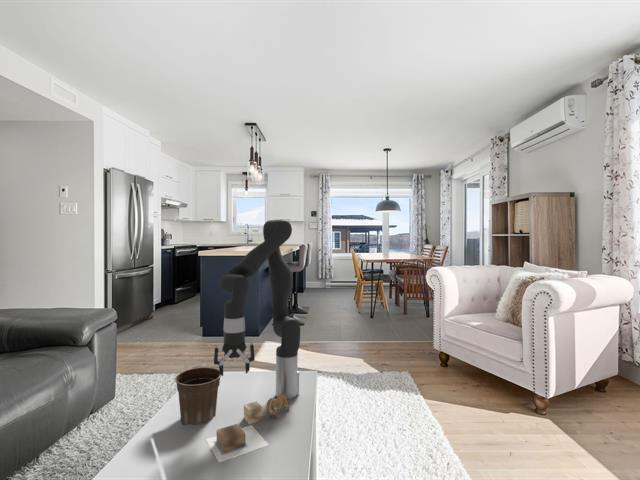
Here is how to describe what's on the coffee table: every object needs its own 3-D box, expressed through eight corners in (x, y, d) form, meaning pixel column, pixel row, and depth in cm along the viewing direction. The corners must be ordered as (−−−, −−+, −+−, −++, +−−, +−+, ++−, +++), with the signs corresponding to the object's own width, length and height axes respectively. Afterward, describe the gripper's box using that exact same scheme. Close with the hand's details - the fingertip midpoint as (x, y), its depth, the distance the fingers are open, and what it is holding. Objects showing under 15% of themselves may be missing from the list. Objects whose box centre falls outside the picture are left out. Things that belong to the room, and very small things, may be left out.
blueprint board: (251, 427, 121) (251, 424, 121) (268, 448, 110) (268, 444, 110) (205, 442, 112) (205, 439, 112) (219, 465, 101) (219, 462, 101)
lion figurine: (276, 427, 122) (276, 402, 122) (262, 425, 124) (262, 400, 124) (291, 408, 136) (291, 385, 136) (279, 406, 138) (279, 383, 138)
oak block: (256, 417, 129) (256, 401, 129) (262, 423, 125) (262, 406, 125) (243, 421, 126) (243, 404, 126) (249, 427, 122) (249, 410, 122)
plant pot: (206, 433, 118) (207, 386, 118) (164, 427, 121) (165, 382, 121) (228, 410, 134) (229, 369, 134) (191, 406, 137) (191, 365, 137)
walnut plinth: (237, 435, 115) (237, 423, 115) (245, 446, 109) (245, 433, 109) (216, 442, 111) (216, 429, 111) (223, 453, 105) (223, 440, 105)
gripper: (253, 325, 130) (253, 368, 131) (214, 328, 127) (214, 371, 127) (255, 330, 123) (255, 375, 123) (213, 333, 119) (213, 380, 120)
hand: (234, 373), depth 125 cm, fingers open, 8 cm apart
